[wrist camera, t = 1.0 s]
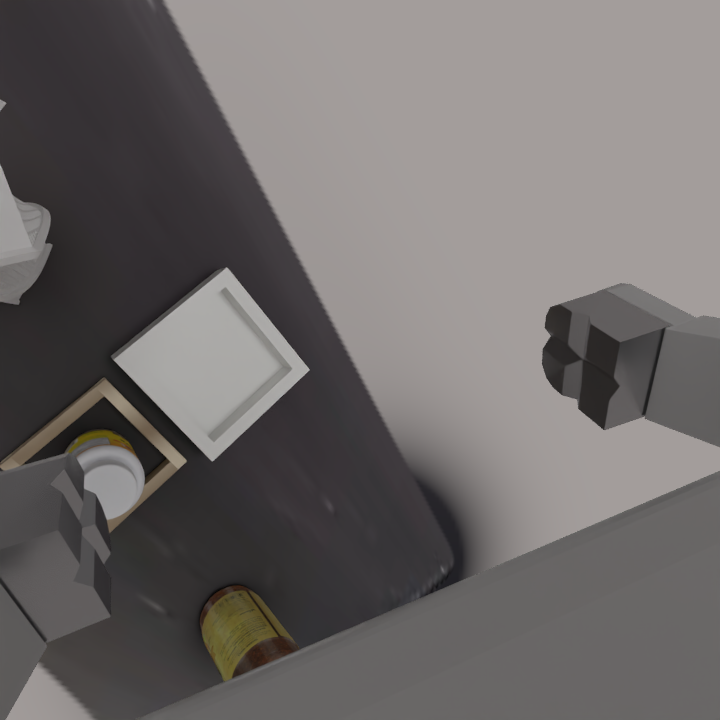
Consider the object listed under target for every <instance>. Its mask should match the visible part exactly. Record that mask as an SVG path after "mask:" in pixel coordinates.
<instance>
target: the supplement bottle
mask: <svg viewBox="0 0 720 720" xmlns="http://www.w3.org/2000/svg"><path fill="white" fill-rule="evenodd" d="M68 452H70V453H71V454H73V455H74V456H75V457H76V458H77V460H78V462H79V464H80V465H81V467H82V469H83V471H84V489H86V490H88V491H91V492H93V493H95V494H96V495H97V497H98V499H99V501H100V503H101V505H102V508H103V511H104V513H105V516H106V519H107V520H109V519H113V518H116V517H118V516H120V515H122V514H124V513H126V512H127V511H128V510H130V509H131V508H132V507H133V506H134V505H135V504H136V502H137V501H138V500H139V498H140V496H141V494H142V492H143V488H144V483H145V475H144V470H143V467H142V465H141V463H140V461H139V459H138V457H137V456H136V454H135V452H134V450H133V448H132V447H131V445H130V443H129V442H128V441H127V440H126V439H125V438H124V437H123V436H122V435H120V434H119V433H117V432H115V431H111V430H107V429H95V430H90V431H87V432H85V433H83V434H81V435H79V436H78V437H76V438H75V439H74V440H73V441H72V442H71V443H70V444H69V446H68V447H67V449H66V450H65V453H68ZM65 453H64V454H65Z"/></svg>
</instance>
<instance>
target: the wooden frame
mask: <svg viewBox="0 0 720 720" xmlns="http://www.w3.org/2000/svg"><path fill="white" fill-rule="evenodd" d="M104 396H105V397H106V398H107V399H108V400H109V401H110V402H111V403H112V404H113V405H114V406H115V407H116V408H117V409H118V410H119V411H120V412H121V413H122V414H123V415H124V416H125V417H126V418H127V419H128V420H129V421H130V422H131V423H132V424H133V425H134V426H135V427H136V428H137V429H138V430H139V431H140V432H141V433H142V434H143V435H144V436H145V437H146V438H147V439H148V440H149V441H150V442H151V443H152V444H153V445H154V446H155V447H156V448H157V449H158V450H159V451H160V452H161V453H162V454H163V455H164V456H165V457H166V459H165V460H164V461H163V462H162V463H161V464H160V465H159V466H158V467H157V468H155V469H154V470H153V471H152V472H151V473H150V474H149V475H148V476H147V477H146V478H145V483H144V488H143V492H142V494H141V496H140V498H139V500H138V501H137V502H136V504H135V505H134V506H133V507H132V508H131V509H130V510H128V511H127V512H126V513H124V514H122V515H120V516H118V517H116V518H113V519H109V520H107V523H108V529H109V533H110V532H111V531H112V530H113V529H114V528H116V527H117V526H118V525H119V524H120V523H121V522H122V521H123V520H124V519H125V518H126V517H127V516H128V515H130V514H131V513H132V512H133V511H134V510H135V509H136V508H137V507H138V506H139V505H140V504H141V503H143V502H144V501H145V500H146V499H147V498H148V497H149V496H150V495H151V494H152V493H153V492H154V491H155V490H157V489H158V488H159V487H160V486H161V485H162V484H163V483H164V482H165V481H166V480H167V479H168V478H169V477H171V476H172V475H173V474H174V473H175V472H176V471H177V470H178V469H179V468H180V467H181V466H182V465H184V464H185V463H186V462H187V461H186V459H185V458H184V457H183V456H182V455H181V454H180V453H179V452H178V451H177V450H176V449H175V448H174V447H173V446H172V445H171V444H170V443H169V442H168V441H167V440H166V439H165V438H164V437H163V436H162V435H161V434H160V433H159V432H158V431H157V430H156V429H155V428H154V427H153V426H152V425H151V424H150V423H149V422H148V421H147V420H146V419H145V418H144V417H143V416H142V415H141V414H140V413H139V412H138V411H137V410H136V409H135V408H134V407H133V406H132V405H131V404H130V403H129V402H128V401H127V400H126V399H125V398H124V397H123V396H122V395H121V394H120V392H119V391H118V390H117V389H116V388H115V387H114V386H113V385H112V384H111V383H110V382H109V381H108V380H107V379H106V378H105V377H104V378H102V379H101V380H100V381H99V382H98V383H96V384H95V385H94V386H93V387H91V388H90V389H89V390H88V391H87V392H85V393H84V394H83V395H82V396H80V397H79V398H78V399H77V400H76V401H74V402H73V403H72V404H71V405H69V406H68V407H67V408H66V409H65V410H63V411H62V412H61V413H60V414H59V415H57V416H56V417H55V418H54V419H52V420H51V421H50V422H49V423H48V424H46V425H45V426H44V427H43V428H41V429H40V430H39V431H38V432H37V433H35V434H34V435H33V436H32V437H30V438H29V439H28V440H27V441H26V442H24V443H23V444H22V445H21V446H19V447H18V448H17V449H16V450H15V451H13V452H12V453H11V454H10V455H9V456H7V457H6V458H5V459H4V460H2V461H1V463H0V468H1V469H3V470H4V471H5V470H8V469H12V468H15V467H19V466H23V465H26V464H24V463H25V462H26V461H27V460H28V459H29V458H31V457H32V456H33V455H34V454H35V453H37V452H38V451H39V450H40V449H41V448H43V447H44V446H45V445H46V444H47V443H49V442H50V441H51V440H52V439H53V438H55V437H56V436H57V435H58V434H59V433H61V432H62V431H63V430H64V429H65V428H67V427H68V426H69V425H70V424H71V423H73V422H74V421H75V420H76V419H77V418H79V417H80V416H81V415H82V414H83V413H85V412H86V411H87V410H88V409H89V408H91V407H92V406H93V405H94V404H95V403H97V402H98V401H99V400H100V399H101V398H103V397H104Z"/></svg>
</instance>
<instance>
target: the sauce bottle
mask: <svg viewBox="0 0 720 720" xmlns="http://www.w3.org/2000/svg"><path fill="white" fill-rule="evenodd" d="M200 627H201V630H202V636H203V641H204V643H205V645H206V647H207V649H208V651H209V653H210V655H211V657H212V659H213V661H214V663H215V665H216V667H217V669H218V671H219V673H220V675H221V676H222V678H223V680H224V682H225V681H227V680H229V679H232V678H234V677H236V676H239V675H241V674H243V673H246V672H248V671H251V670H253V669H255V668H258V667H260V666H262V665H265V664H267V663H269V662H272V661H274V660H276V659H279V658H281V657H283V656H286V655H288V654H290V653H293V652H295V651H298V650H300V649H299V647H298V646H297V644H296V643H295V642H294V640H293V639H292V638H291V636H290V635H289V634H288V633H287V631H286V630H285V629H284V628H283V626H282V625H281V624H280V622H279V621H278V620H277V619H276V617H275V616H274V615H273V613H272V612H271V611H270V609H269V608H268V607H267V606H266V604H265V603H264V602H263V600H262V599H261V598H260V597H259V596H258V595H257V594H255V593H254V592H253V591H252V590H250V589H248V588H246V587H244V586H240V585H234V586H230V587H227V588H224V589H221V590H219V591H218V592H216V593H215V594H214V595H213V596H212V597H211V598H210V599H209V600H208V602H207V603H206V604H205V606H204V608H203V611H202V613H201V616H200Z"/></svg>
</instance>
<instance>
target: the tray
mask: <svg viewBox="0 0 720 720" xmlns="http://www.w3.org/2000/svg"><path fill="white" fill-rule="evenodd" d="M110 357H111V358H112V359H113V360H114V361H115V362H116V363H117V364H118V365H119V366H120V367H121V368H122V369H123V370H124V371H125V372H126V374H127V375H128V376H129V377H130V378H131V379H132V380H133V381H134V382H135V383H136V384H137V385H138V386H139V387H140V388H141V389H142V390H143V391H144V392H145V393H146V394H147V395H148V396H149V397H150V398H151V399H152V400H153V401H154V402H155V403H156V404H157V405H158V407H159V408H160V409H161V410H162V411H163V412H164V413H165V414H166V415H167V416H168V417H169V418H170V419H171V420H172V421H173V422H174V423H175V424H176V425H177V426H178V427H179V428H180V429H181V430H182V431H183V432H184V433H185V434H186V435H187V436H188V437H189V439H190V440H191V441H192V442H193V443H194V444H195V445H196V446H197V447H198V448H199V449H200V450H201V451H202V452H203V453H204V454H205V455H206V456H207V457H208V458H209V459H210V460H211V461H212V462H213V461H214V460H215V459H216V458H217V457H218V456H219V455H220V454H221V453H222V452H223V451H224V450H225V449H226V448H227V447H229V446H230V445H231V444H232V443H233V442H234V441H235V440H236V439H237V438H238V437H239V436H240V435H241V434H242V433H243V432H244V431H245V430H247V429H248V428H249V427H250V426H251V425H252V424H253V423H254V422H255V421H256V420H257V419H258V418H259V417H260V416H261V415H262V414H263V413H265V412H266V411H267V410H268V409H269V408H270V407H271V406H272V405H273V404H274V403H275V402H276V401H277V400H278V399H279V398H280V397H282V396H283V395H284V394H285V393H286V392H287V391H288V390H289V389H290V388H291V387H292V386H293V385H294V384H295V383H296V382H297V381H298V380H300V379H301V378H302V377H303V376H304V375H305V374H306V373H307V372H308V371H309V368H308V367H307V366H306V365H305V363H304V362H303V361H302V360H301V358H300V357H299V356H298V355H297V354H296V352H295V351H294V350H293V349H292V347H291V346H290V345H289V344H288V342H287V341H286V340H285V339H284V337H283V336H282V335H281V334H280V332H279V331H278V330H277V329H276V327H275V326H274V325H273V324H272V322H271V321H270V320H269V319H268V317H267V316H266V315H265V314H264V313H263V311H262V310H261V309H260V308H259V306H258V305H257V304H256V303H255V301H254V300H253V299H252V298H251V296H250V295H249V294H248V293H247V291H246V290H245V289H244V288H243V286H242V285H241V284H240V283H239V281H238V280H237V279H236V278H235V277H234V275H233V274H232V273H231V272H230V270H229V269H228V268H227V267H226V268H223V269H219V270H216V271H215V272H214V273H213V274H211V275H210V276H209V277H208V278H207V279H205V280H204V281H203V282H202V283H200V284H199V285H198V286H197V287H195V288H194V289H193V290H192V291H190V292H189V293H188V294H187V295H186V296H184V297H183V298H182V299H181V300H179V301H178V302H177V303H176V304H174V305H173V306H172V307H171V308H169V309H168V310H167V311H166V312H165V313H163V314H162V315H161V316H160V317H158V318H157V319H156V320H155V321H153V322H152V323H151V324H150V325H149V326H147V327H146V328H145V329H144V330H142V331H141V332H140V333H139V334H137V335H136V336H135V337H134V338H132V339H131V340H130V341H129V342H128V343H126V344H125V345H124V346H123V347H121V348H120V349H119V350H118V351H116V352H115V353H114V354H113V355H111V356H110Z"/></svg>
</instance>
